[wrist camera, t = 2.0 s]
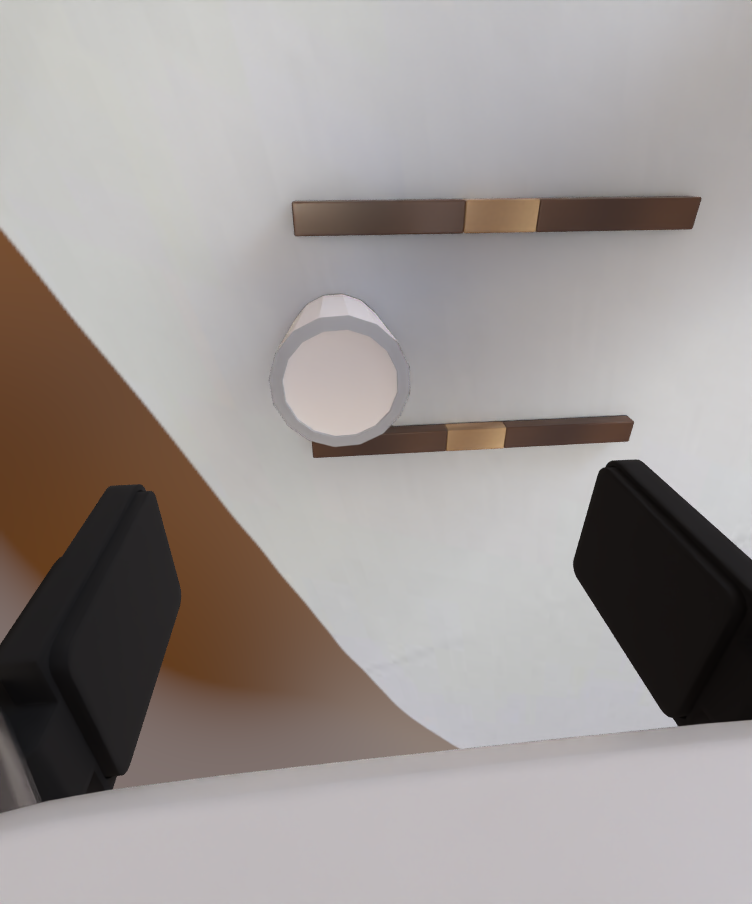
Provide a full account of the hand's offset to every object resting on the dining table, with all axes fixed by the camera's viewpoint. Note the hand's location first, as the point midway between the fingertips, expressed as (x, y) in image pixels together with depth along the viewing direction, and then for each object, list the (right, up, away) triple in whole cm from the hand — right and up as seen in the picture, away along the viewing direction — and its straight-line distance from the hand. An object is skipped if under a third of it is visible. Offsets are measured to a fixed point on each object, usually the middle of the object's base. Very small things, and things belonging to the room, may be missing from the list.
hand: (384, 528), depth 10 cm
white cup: (-3, +8, +19) cm, 21 cm away
